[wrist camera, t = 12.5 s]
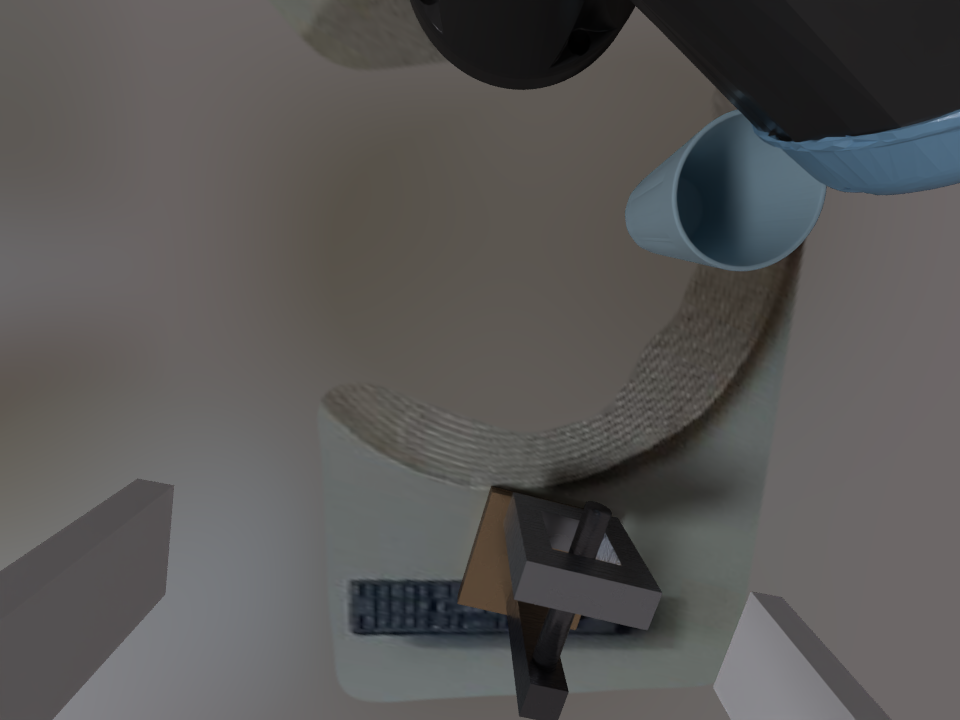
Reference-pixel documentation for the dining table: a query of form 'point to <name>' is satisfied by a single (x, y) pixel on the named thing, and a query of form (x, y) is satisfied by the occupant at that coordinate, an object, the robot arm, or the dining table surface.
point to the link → (576, 565)
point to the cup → (725, 200)
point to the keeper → (527, 605)
